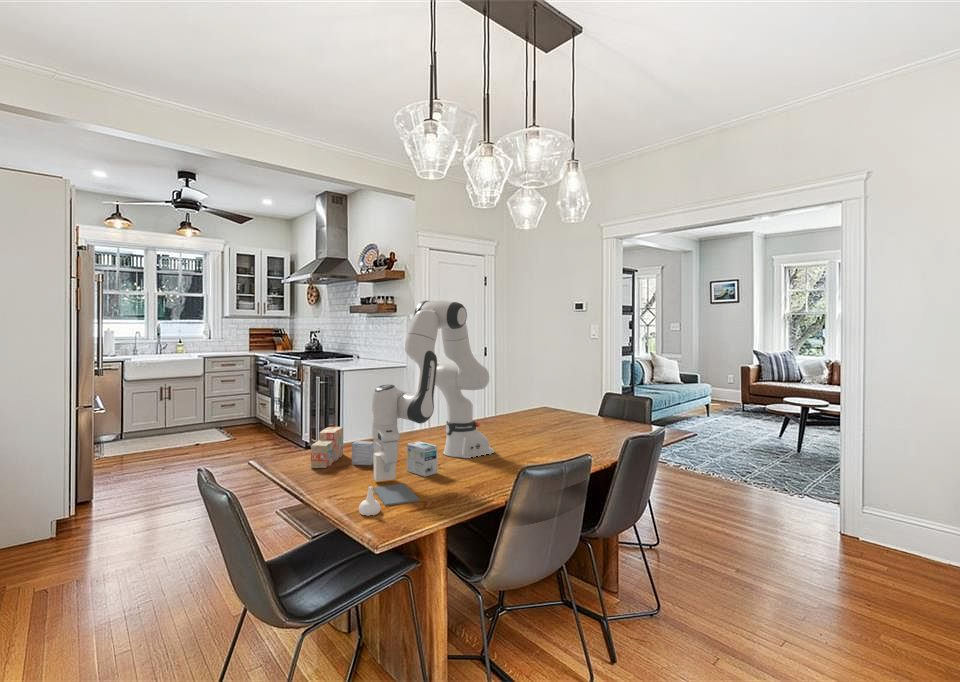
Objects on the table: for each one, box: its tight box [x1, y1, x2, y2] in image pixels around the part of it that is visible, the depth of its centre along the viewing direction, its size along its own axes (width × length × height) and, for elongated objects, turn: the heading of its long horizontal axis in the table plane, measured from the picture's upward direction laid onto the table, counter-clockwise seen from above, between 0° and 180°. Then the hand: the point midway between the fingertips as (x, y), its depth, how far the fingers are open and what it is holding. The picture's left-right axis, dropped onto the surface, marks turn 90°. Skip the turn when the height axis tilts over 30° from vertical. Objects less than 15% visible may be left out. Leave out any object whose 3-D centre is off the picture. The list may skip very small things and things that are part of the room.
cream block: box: [373, 452, 397, 482], centre depth 175 cm, size 7×4×9 cm, turn 115°
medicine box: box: [351, 440, 375, 466], centre depth 197 cm, size 8×4×9 cm, turn 84°
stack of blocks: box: [310, 426, 344, 469], centre depth 200 cm, size 21×6×12 cm, turn 179°
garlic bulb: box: [358, 486, 381, 517], centre depth 146 cm, size 6×6×8 cm
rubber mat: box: [372, 483, 421, 507], centre depth 161 cm, size 11×17×1 cm, turn 25°
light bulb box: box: [406, 440, 438, 477], centre depth 187 cm, size 11×7×11 cm, turn 47°
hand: (384, 469), depth 175 cm, fingers closed on cream block, 4 cm apart
